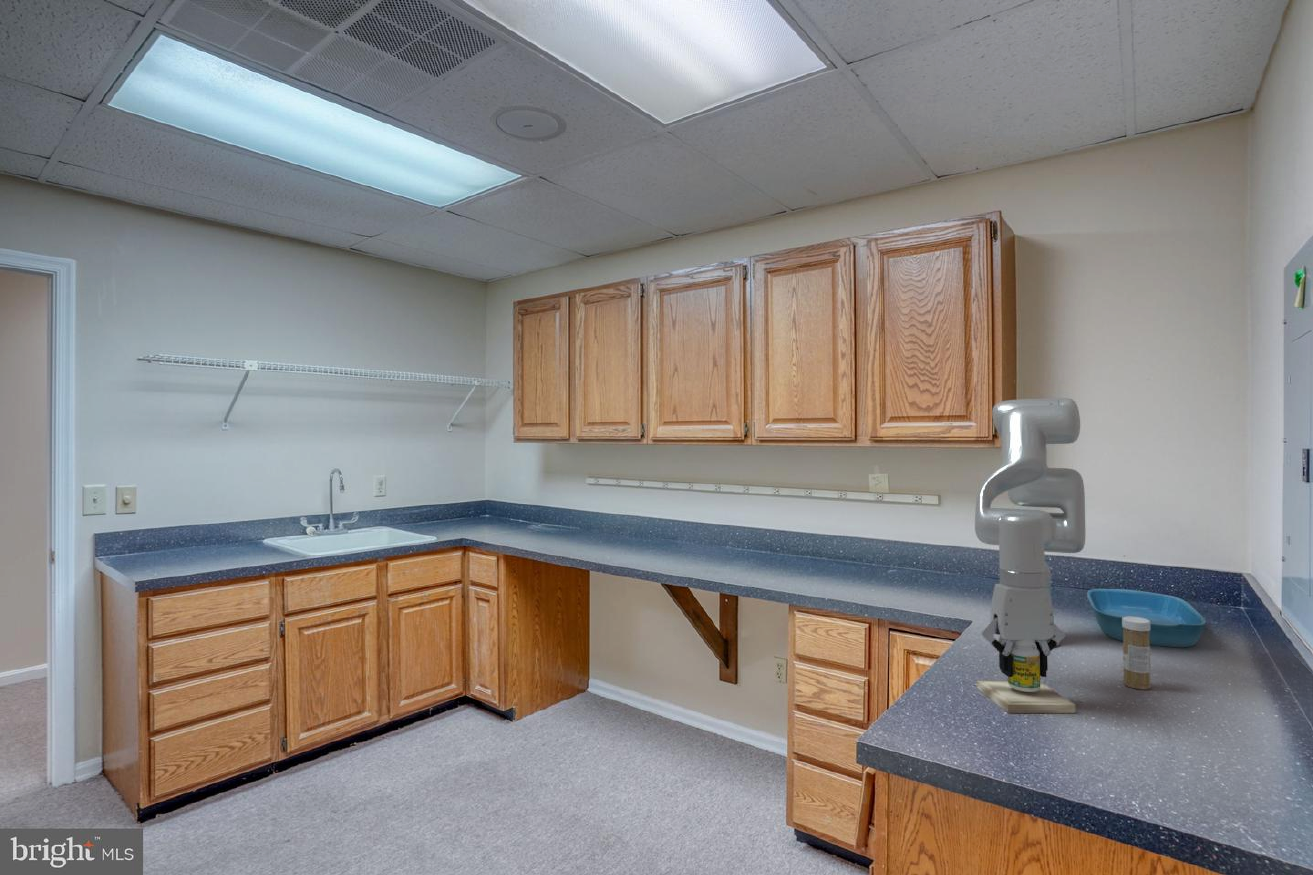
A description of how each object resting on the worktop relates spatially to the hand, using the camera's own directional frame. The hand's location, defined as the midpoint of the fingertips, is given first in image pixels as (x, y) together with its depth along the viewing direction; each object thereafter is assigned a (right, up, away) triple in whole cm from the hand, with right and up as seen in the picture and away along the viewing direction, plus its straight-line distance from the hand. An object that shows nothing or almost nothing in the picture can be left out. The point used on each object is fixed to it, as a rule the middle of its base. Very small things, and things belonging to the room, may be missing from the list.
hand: (1023, 673), depth 123 cm
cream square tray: (0, -5, 0) cm, 5 cm away
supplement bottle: (0, -3, 0) cm, 3 cm away
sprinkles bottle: (+26, -5, +6) cm, 27 cm away
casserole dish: (+56, -5, +44) cm, 71 cm away
